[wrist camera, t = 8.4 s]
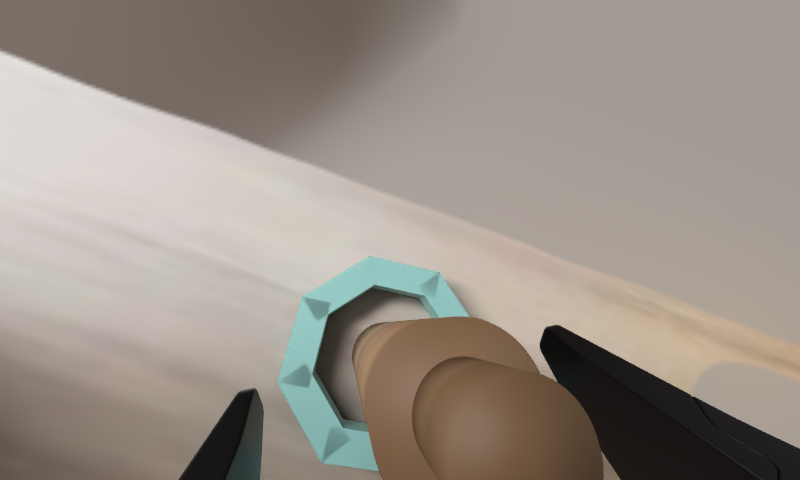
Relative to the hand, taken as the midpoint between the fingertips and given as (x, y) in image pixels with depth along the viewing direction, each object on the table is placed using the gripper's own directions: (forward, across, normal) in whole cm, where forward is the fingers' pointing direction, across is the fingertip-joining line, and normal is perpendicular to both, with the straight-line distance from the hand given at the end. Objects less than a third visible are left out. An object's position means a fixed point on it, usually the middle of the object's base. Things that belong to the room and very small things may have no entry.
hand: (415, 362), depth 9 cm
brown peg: (+6, 0, +6) cm, 8 cm away
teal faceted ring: (+6, 0, +6) cm, 8 cm away
